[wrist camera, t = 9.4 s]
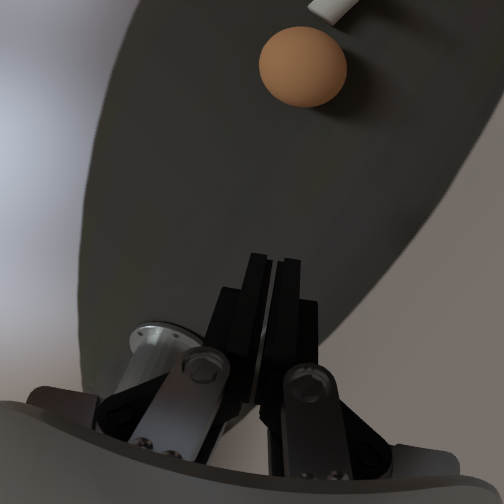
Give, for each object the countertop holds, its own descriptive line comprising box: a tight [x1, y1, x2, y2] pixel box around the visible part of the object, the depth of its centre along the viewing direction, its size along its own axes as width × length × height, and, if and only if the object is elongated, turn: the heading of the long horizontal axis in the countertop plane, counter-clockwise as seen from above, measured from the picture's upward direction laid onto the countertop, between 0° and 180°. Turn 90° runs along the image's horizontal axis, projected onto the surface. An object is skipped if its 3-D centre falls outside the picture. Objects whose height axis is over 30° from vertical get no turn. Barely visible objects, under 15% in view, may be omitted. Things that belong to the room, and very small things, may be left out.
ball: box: [259, 27, 347, 107], centre depth 18 cm, size 6×6×6 cm
